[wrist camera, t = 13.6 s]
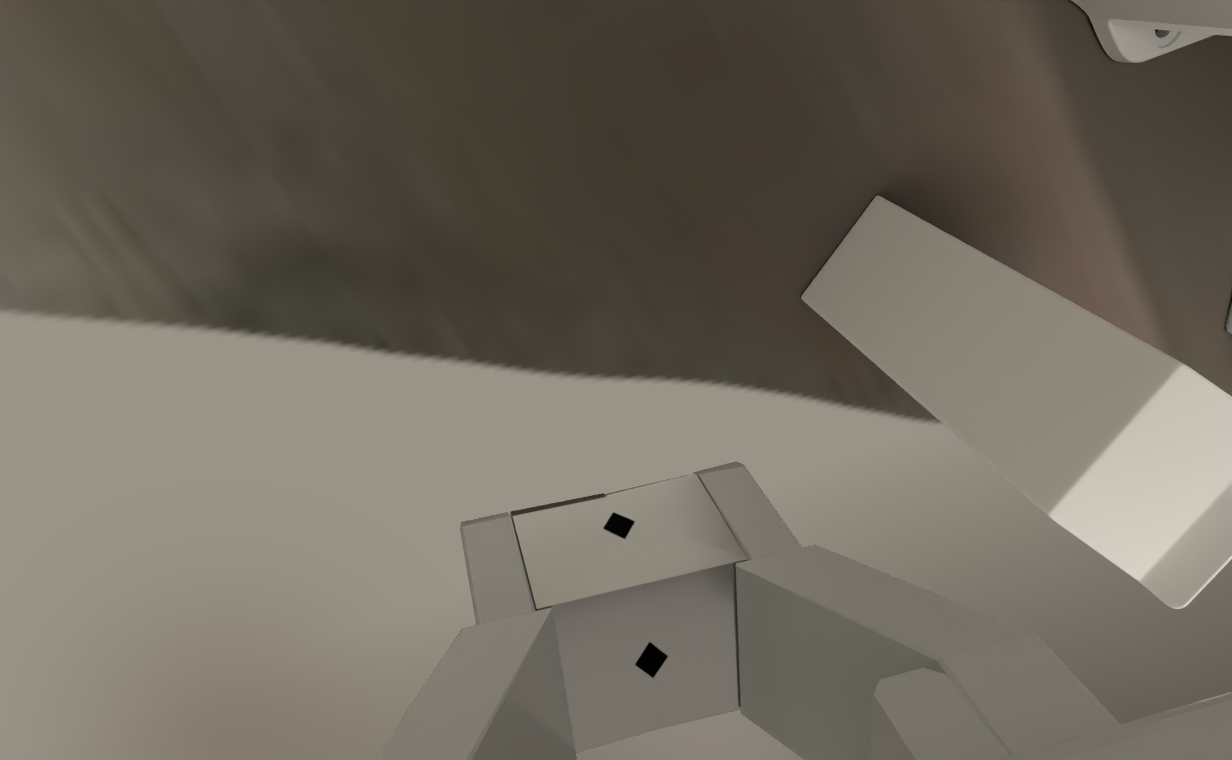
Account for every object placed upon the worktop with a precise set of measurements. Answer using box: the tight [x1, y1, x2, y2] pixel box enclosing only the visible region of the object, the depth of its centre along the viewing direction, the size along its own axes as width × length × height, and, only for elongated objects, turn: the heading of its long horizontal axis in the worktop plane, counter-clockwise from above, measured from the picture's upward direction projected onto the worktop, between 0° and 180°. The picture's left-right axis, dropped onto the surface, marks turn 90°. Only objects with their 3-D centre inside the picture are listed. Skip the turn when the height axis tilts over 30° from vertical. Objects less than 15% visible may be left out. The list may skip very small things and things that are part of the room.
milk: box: [801, 195, 1232, 609], centre depth 36 cm, size 6×6×22 cm
